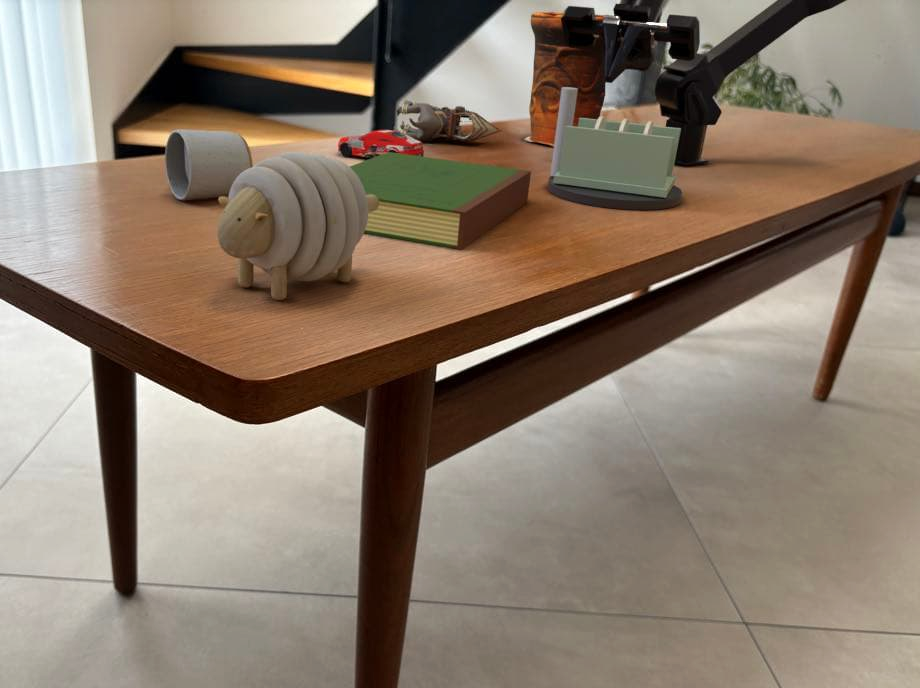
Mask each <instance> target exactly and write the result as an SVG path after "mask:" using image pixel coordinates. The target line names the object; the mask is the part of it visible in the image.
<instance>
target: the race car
mask: <svg viewBox="0 0 920 688" xmlns="http://www.w3.org/2000/svg"><path fill="white" fill-rule="evenodd" d="M337 147H338V148H337V151H338V153H340V154H341V155H342V157H345V158H349V157H351V156H356V157H364V158H369V159H371V158H374V157H377V156H380V155H382V154H385V153H388V152H392V153H400V154H407V155H415V156H422V157H424V155H425V154H424V153H425V150H424V146H423V142H420V141H418V140H416V139H414V138H412V137H410V136H409V135H406V134H403V133H401V132H397V131H394V130H392V129H391V130H390V129H378V130H373V131H370V132H367V133H365V134H353V135H347V136H343V137H341V138H340V139H339V141H338V143H337Z"/></svg>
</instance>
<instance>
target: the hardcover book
mask: <svg viewBox="0 0 920 688" xmlns="http://www.w3.org/2000/svg"><path fill="white" fill-rule="evenodd" d="M349 167H350V168H351V169H352V170H353V171H354V172H355V173H356V174H357V176H358V177H359V179H360V181H361V183H362V185H363V188H364V190H365V194H366V195H375V196H376V197H377V198H378V200H379V207H378V209H377V210H375V211H371V212H368V221H367V225H366V228H365V231H364V234H368V235H373V236H374V235H375V236H381V237H386V238H392V239H397V240H404V241H408V242H409V241H410V242H415V243H421V244H425V245H426V244H427V245H433V246H438V247H445V248H450V249H456V250H463V249H464V248H466V247H467V246H469V245H470V244H472V243H473V242H474V241H476V240H477V239H478V238H480V237H481V236H483V235H484V234H486V233H487V232H488V231H489V230H491V229H492V228H494V227H496V226H497V225H498V224H499V223H501V222H502V221H503V220H505V219H506V218H508V217H510V215H512V214H513V213H515V211H518V209H520V208H521V207H523V206H524V205H526V204H527V203H528V199H529V191H530V183H531V175H532V170H525V169H518V168H510V167H503V166H496V165H490V164H489V165H488V164H480V163H474V162H473V163H472V162H467V161H458V160H451V159H445V158H444V159H443V158H437V157H429V156H423V157H422V156H415V155H407V154H400V153H392V152H388V153H385V154H382V155H380V156H377V157H374V158H369V159H366V160H364V161H361V162H358V163H355V164H353V165H350V166H349Z"/></svg>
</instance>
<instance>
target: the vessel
mask: <svg viewBox="0 0 920 688" xmlns="http://www.w3.org/2000/svg"><path fill="white" fill-rule="evenodd" d="M563 13H564V12H556V11H542V12H541V11H539V12H538V11H537V12H533V13H531V15H530V27H531V31H532V33H533V36H534V55H533V73H532V85H531V93H530V100H529V101H530V102H529V106H528V113H529V117H530V134H531V136H529V135H528V136H526V137H525V138H524V141H527V142H531V143H539V144H544V145H548V146H550V147H553V148H554V143H555V135H556V128H557V120H558V113H559V105H560V98H561V90H562V87H572V88H577V89H578V91H577V98H576V105H575V112H574V119H573V126H575V127H578V123H579V118H588V119H597V120H598V118H599V117H600V116H601V112H602V110H603V108H604V107H603V106H604V103H605V99H606V83H607V82H606V80H605V64H606V55H604V54H603V53H602V52H601V48H600V42H599V38H596V42H595V44H594V46H593V47H591V48H589V49H587V50H585V49H575V48H569V47H568V46H567V45H566V43H565V38H564V33H563V28H562V23H561V17H562V15H563ZM604 15H605V14H595V17H596V20H599V21H603V17H604Z"/></svg>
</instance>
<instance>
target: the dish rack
mask: <svg viewBox="0 0 920 688" xmlns="http://www.w3.org/2000/svg"><path fill="white" fill-rule="evenodd" d="M577 91H578V89H577V88H572V87H562V90H561V98H560V105H559V113H558V120H557V128H556V135H555V143H554V147H553V150H552V159H551V167H550V173H549V175H550V176H553V177H554V180H553V183H557V184H564V185H572V186H580V187H587V188H595V189H602V190H610V191H617V192H625V193H632V194H640V195H648V196H655V197H663V198H666V197H667V195H668V193H669V192H670V190H671V189H672V187H673V185H674V186H675V184H676V179H677V175H674V174H673V172H674V169H675V164H674V163H675V157H676V152H677V147H678V142H679V137H680V132H681V128H672V127H665V126H661V125H654V122H653V121H650V120H648V121H647V123H646V124H643V123H634V122H630V120H629V119H628V118H623V119H622V121H616V120H615V121H614V120H606V117H605V116H603V115H600V117H599V118H598V120H597V119H588V118H579V123H578V127H575V126H573V119H574V112H575V105H576V98H577Z"/></svg>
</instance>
